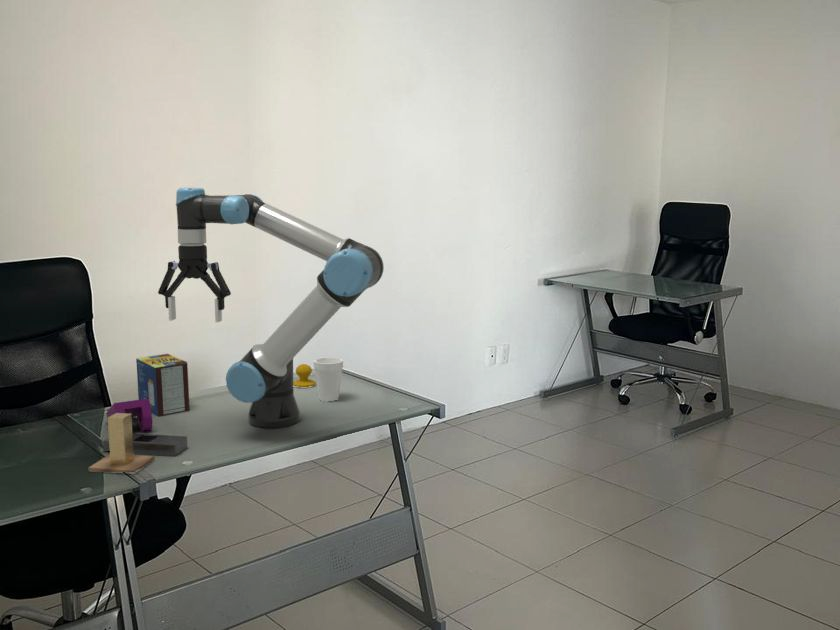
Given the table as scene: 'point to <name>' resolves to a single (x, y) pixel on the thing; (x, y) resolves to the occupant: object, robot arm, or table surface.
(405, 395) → the table surface
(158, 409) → the protein box
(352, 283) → the robot arm
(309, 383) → the doorknob
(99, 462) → the walnut pad
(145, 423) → the mounting bracket
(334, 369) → the foam cup
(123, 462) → the square peg
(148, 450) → the rail
